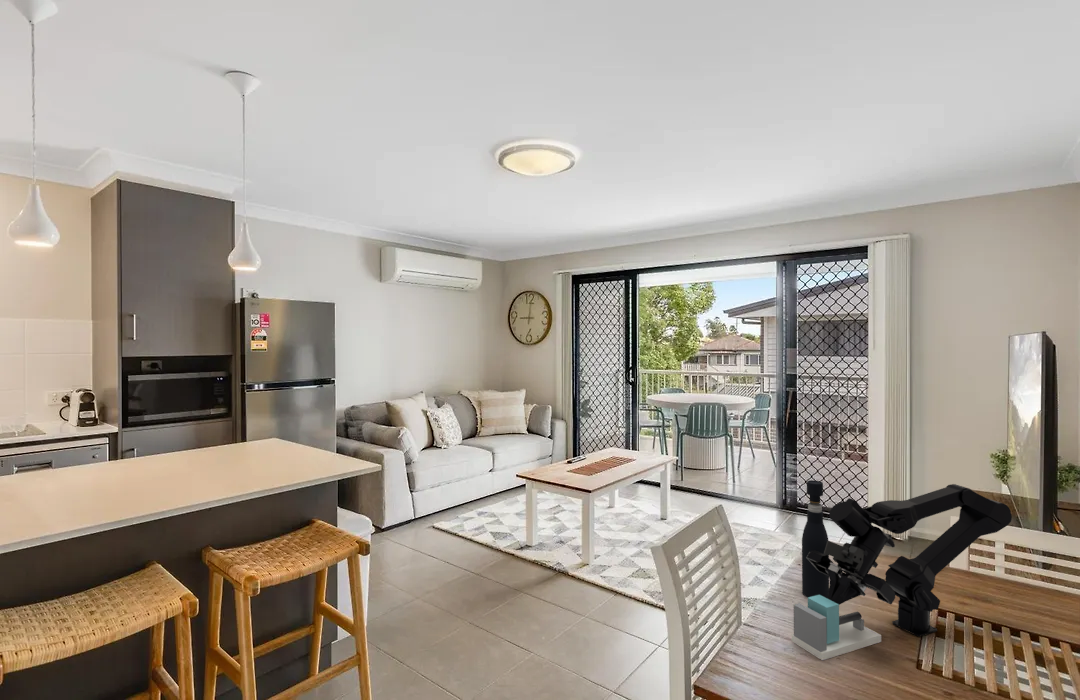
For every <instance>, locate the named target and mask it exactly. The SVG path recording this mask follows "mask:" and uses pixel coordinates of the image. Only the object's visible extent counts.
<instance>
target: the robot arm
mask: <svg viewBox="0 0 1080 700" xmlns="http://www.w3.org/2000/svg"><path fill="white" fill-rule="evenodd" d="M956 508H960V509H959V517H958V519H957V520H956V522H954V524H952V525H951V526H950V527H949V528H947V530H946V531H944V532H943V533H942V534H941V535H940V536H939V537H937V538H936V539H935V540H934V541H933V542H932V543H931V544H930V545H928V546H927V547H926V548H925V549H924V550H923V551H922V552H920V553H919V554H918V555H917V556H915V557H914V558H908V557H906V556H904V555H900V556H899V557H897V559H895V561H894V562H893V563H890V564H888V565H887V566H888V568H887V570H886V571H885V574H884V575H885V579H883V578H881V577H879V576H876V575H875V574H873V573H870V572H871V569H872V568H874V569H877V567H878V565H879V563H878V562H877V559H878V557H879V556H880V554H881V552H882V550H883V549H884V547H890V548H895V546H896V545H895V541H894V540H893V536H892V534H894V535H900V534H904V533H905V532H907V531H909V530H911V529H913V528H915V526H916V525H917V523H918V522H920V521H921V520H923V519H925V518H929V517H931V516H935V515H937V514H941V513H945V512H947V511H951V510H953V509H956ZM828 515H829V518H830V520H831V521H832V522H833V523H834V524H836V525H837V526H838V527H839V528H840V529H841V530H842V531H843V532H844V534H846V535H847V536H848V537H853V538H852V540H851V542H850V543H849V542H847V541H846V542H845V543H844V544H843V545H840V544H838V543H835V542H833V541H830V540H828V541H827V544H826V548H825V551H824V554H822V553H820V552H818V551H815V550H813V551H810V552H809V554H808V555H807V557H806V558H807V559H808V560H809V562H810V563H811V564H812V565H813V566H814V567H815V568H816V569H817V570H818V571H819V572H821V573H823V574H825V575H828V576H829V594H828V599H829V600H831V601H833V602H835V603H837V604H839V606H840V605H842V604H843V603H846V602H848V601H850V600H852V599H855V598H857V597H860V596H863V597H865V596H866V592H865V591H866V590H867V589H869V590H872V591H874V592H875V594H876V597H877V599H878V600H880V601H882V602H884V603H886V604H888V605H893V603H894V601H895V599H896V597H897V598H899V600H898V607H897V619H895V620H892V621H891V623H892V625H894V626H897V627H899V628H900V629H902V630H905V632H909V633H910V634H912V635H914V636H917V637H923V636H926V635H930V634H932V633H935V632H938V629H937V627H934V626H932V625H931V612H933V611H934V610H938V609H939V606H940V603H941V600H940V598H938V597H937V595H935V594H934V593H933V592H932V590H933V589H934V588H935V581H936V576H937V575H938V574H939V573H941V571H942V570H944V569H945V568H946V567H947V566H948V565H950V564H951V563H952V562H953V561H954V560H955V559H956V558H957V557H958V556H959V555H961V554H962V553H963V552H964V551H965V550H966V549H968V548H969V547H970V545H972V544H973V543H974V542H975V541H976V540H978V539H979V538H980V537H982V536H987V535H990V534H991V535H992V534H995V533H998V532H1000V531H1001V530H1003V529H1005V528H1006V527H1008V526H1009V524H1010V523H1011V522H1012V517H1013V515H1012V511H1011V509H1010V507H1009V506H1008V505H1007V504H1005V503H1004V502H1001V501H997V500H994V499H990V498H987V497H985V496H983V495H982V494H981V495H980V494H979V493H977V492H975V491H974V490H973V489H971V488H969V487H966V486H962V485H959V484H956V483H952V484H948V485H947V486H946V487H943V488H939V489H936V490H934V491H931V492H927V493H924V494H921V495H918V496H915V497H912V498H908V499H904V500H894V499H893V500H892V499H890V500H882V501H877V502H875V503H873V504H872V505H871V506H867V507H861V505H860V504H859V502H858V501H856V500H855V499H853V498H851V497H848V498H847V499H846V500H845V501H841V502H838V503H837V504H835V505H833V506H832V507H831V508H830V510H829V513H828ZM872 524H873V525H872ZM874 525H875V526H874ZM882 529H884V530H886V531H888V532H891V533H892V534H889V533H886V532H884V531H883V530H882ZM827 555H829V557H828V556H827ZM830 557H832V559H830ZM833 561H834V562H833ZM836 563H837V564H836Z"/></svg>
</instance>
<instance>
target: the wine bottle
mask: <svg viewBox="0 0 1080 700" xmlns="http://www.w3.org/2000/svg"><path fill="white" fill-rule="evenodd" d="M806 494H807V495H809V500H808V501H809V502H808V504H807V506H808V507H807V511H806V518H807V519H806V522H805V525H804V528H803V530H802V536H801V537H802V538H801V586H802V587H801V589H802V590H801V591H802V592H801V593H802V595H803V596H805V598H808V597H812V596H816V595H821V596H823V597H825V598H827V599H828V594H829V587H830V578H829V576H828V575H825V574H823V573H821V572H819V571H818V570H817V569H816V568H815V567H814V566H813V565H812V564H811V563H810V562H809V560H808V559H807V558H806V557H807V555H808V554H809V552H810V551H813V550H815V551H818V552H820V553H822V554H824V551H825V548H826V544H827V541H829V536H828V532H827V530H826V526H825V524H824V512H823V509H822V508H823V506H822V504H821V497H823V496H824V483H823V481H820V480H807V481H806ZM827 556H828V557H829V558H830V555H827Z"/></svg>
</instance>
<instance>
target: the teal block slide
mask: <svg viewBox="0 0 1080 700" xmlns="http://www.w3.org/2000/svg"><path fill="white" fill-rule="evenodd" d="M791 642H792V643H794V644H795V645H797V646H799V647H800V648H801V649H803V650H805V651H807V652H808V653H810V654H811V655H813V656H814V657H816V658H817V659H820V660H821V661H825V660H828V659H831V658H835V657H838V656H840V655H844V654H848V653H850V652H853V651H857V650H859V649H862V648H866V647H870V646H871V645H875V644H878V643H882V634H880V633H878V632H876V631H875V630H873V629H870V628H868V627H867V626H865V620H864V619H863V618H862V614H861V612H859V611H854V612H850V613H846V614H842V615H839V641H836V642H832V643H829V644H827V626H826V617H825V616H823V615H821V614H819V613H817V612H815V611H813V610H812V609H810V608H808V606H806V605H804V604H802V603H801V602H798V603H795V604H793V633H792V634H791Z"/></svg>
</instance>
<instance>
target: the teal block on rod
mask: <svg viewBox="0 0 1080 700" xmlns="http://www.w3.org/2000/svg"><path fill="white" fill-rule="evenodd" d="M807 607H808V608H810V609H812V610H813V611H815V612H817V613H819V614H821V615H823V616H825V617H826V626H827V644H829V643H832V642H836V641H839V616H840V605H839V604H837V603H835V602H833V601H831V600H829V599H827V598H825V597H823V596H821V595H816V596H812V597H807Z"/></svg>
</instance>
